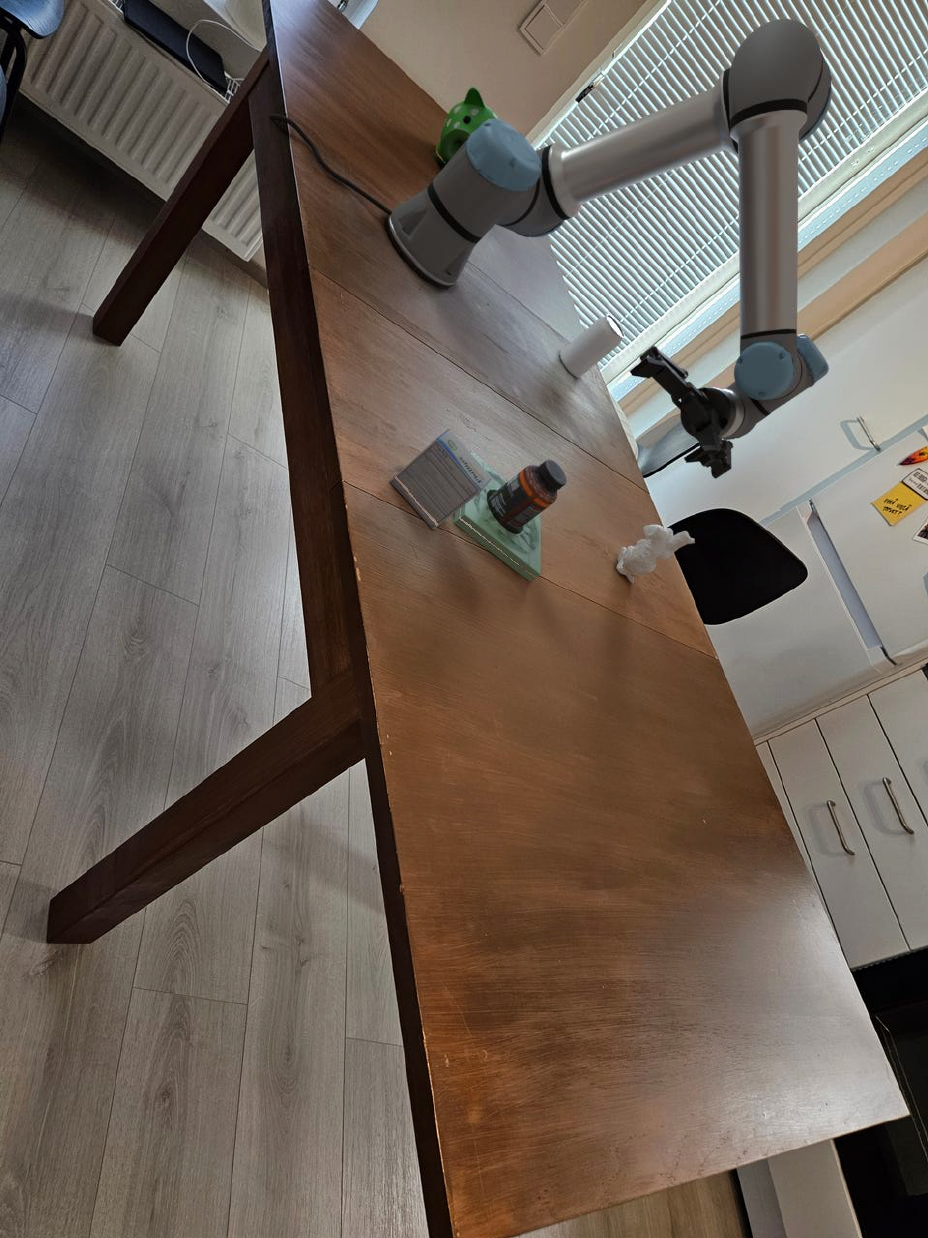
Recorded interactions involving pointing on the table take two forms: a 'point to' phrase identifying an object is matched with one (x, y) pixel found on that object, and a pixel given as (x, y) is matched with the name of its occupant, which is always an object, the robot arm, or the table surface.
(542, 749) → the table surface
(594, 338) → the can
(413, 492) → the medicine box
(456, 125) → the piggy bank
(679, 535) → the koala figurine
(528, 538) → the socket pad
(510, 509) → the supplement bottle
